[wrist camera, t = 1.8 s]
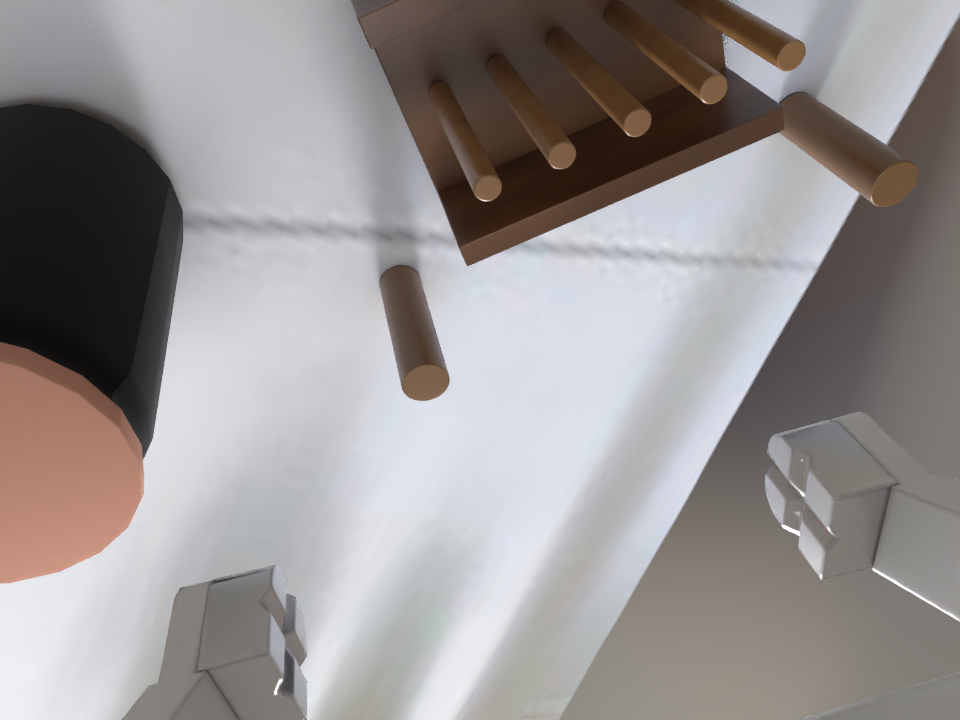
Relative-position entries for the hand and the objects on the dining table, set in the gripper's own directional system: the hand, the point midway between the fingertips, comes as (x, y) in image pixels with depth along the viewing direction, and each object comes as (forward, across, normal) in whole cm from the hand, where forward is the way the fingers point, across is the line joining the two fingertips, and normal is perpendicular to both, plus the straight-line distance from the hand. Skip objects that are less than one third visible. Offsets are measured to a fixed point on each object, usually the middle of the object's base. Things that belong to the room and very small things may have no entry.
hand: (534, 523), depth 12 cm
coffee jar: (+29, +16, +2) cm, 33 cm away
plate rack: (+29, -8, -1) cm, 30 cm away
